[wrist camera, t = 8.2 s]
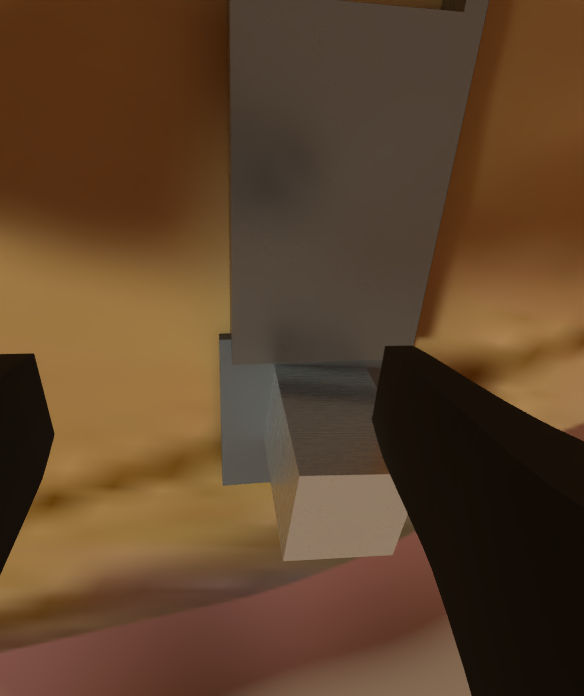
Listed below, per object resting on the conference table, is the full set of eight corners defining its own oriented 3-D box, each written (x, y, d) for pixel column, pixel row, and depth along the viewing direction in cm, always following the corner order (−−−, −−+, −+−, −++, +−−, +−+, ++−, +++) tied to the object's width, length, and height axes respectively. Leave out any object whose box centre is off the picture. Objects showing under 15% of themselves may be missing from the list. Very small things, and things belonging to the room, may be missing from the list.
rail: (230, 343, 21) (232, 364, 20) (220, -706, 9) (223, -858, 8) (396, 339, 23) (410, 358, 21) (578, -587, 11) (641, -697, 9)
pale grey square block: (263, 438, 24) (282, 561, 18) (273, 364, 22) (299, 475, 16) (348, 438, 25) (392, 555, 19) (365, 367, 23) (422, 473, 17)
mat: (222, 478, 26) (222, 485, 25) (219, 334, 21) (219, 339, 21) (379, 467, 27) (382, 473, 27) (408, 329, 23) (412, 334, 22)
